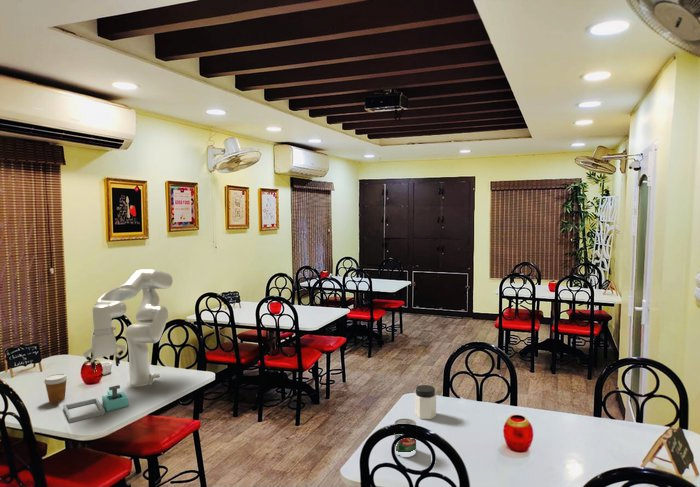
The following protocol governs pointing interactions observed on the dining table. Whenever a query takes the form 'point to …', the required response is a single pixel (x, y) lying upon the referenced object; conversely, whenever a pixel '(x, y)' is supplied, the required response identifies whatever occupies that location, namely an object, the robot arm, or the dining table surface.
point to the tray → (84, 416)
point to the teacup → (106, 367)
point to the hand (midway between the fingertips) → (105, 367)
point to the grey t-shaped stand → (114, 392)
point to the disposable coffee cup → (56, 387)
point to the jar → (425, 402)
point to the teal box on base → (114, 401)
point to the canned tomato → (406, 443)
